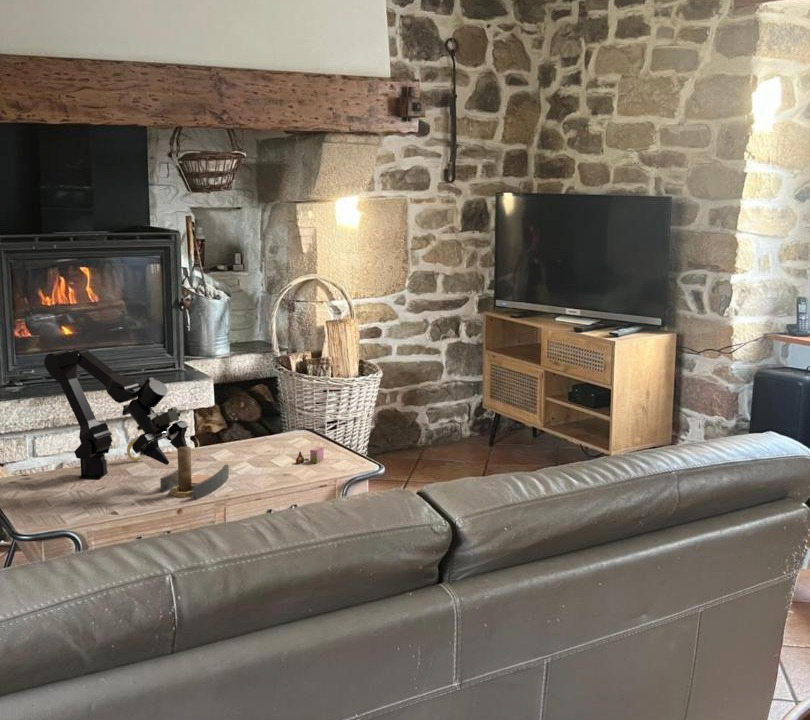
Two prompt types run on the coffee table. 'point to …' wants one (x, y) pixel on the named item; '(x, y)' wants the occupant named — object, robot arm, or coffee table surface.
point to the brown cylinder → (183, 474)
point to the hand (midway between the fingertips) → (178, 459)
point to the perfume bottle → (312, 455)
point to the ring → (130, 448)
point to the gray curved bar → (200, 488)
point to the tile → (200, 478)
